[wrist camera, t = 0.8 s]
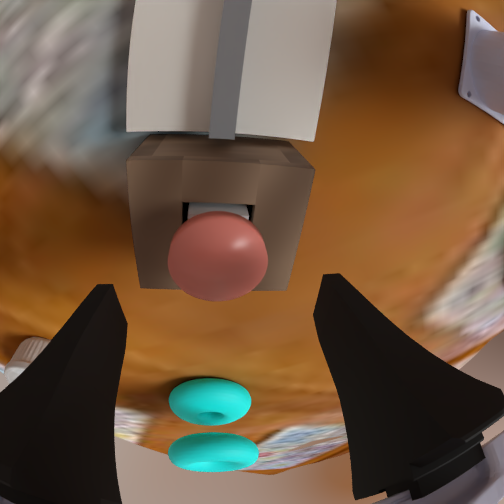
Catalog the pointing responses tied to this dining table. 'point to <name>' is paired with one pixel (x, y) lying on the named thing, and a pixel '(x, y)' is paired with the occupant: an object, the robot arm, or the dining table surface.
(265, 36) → the rail
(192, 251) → the button
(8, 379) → the ramekin
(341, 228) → the dining table surface
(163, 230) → the cabinet
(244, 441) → the donuts
